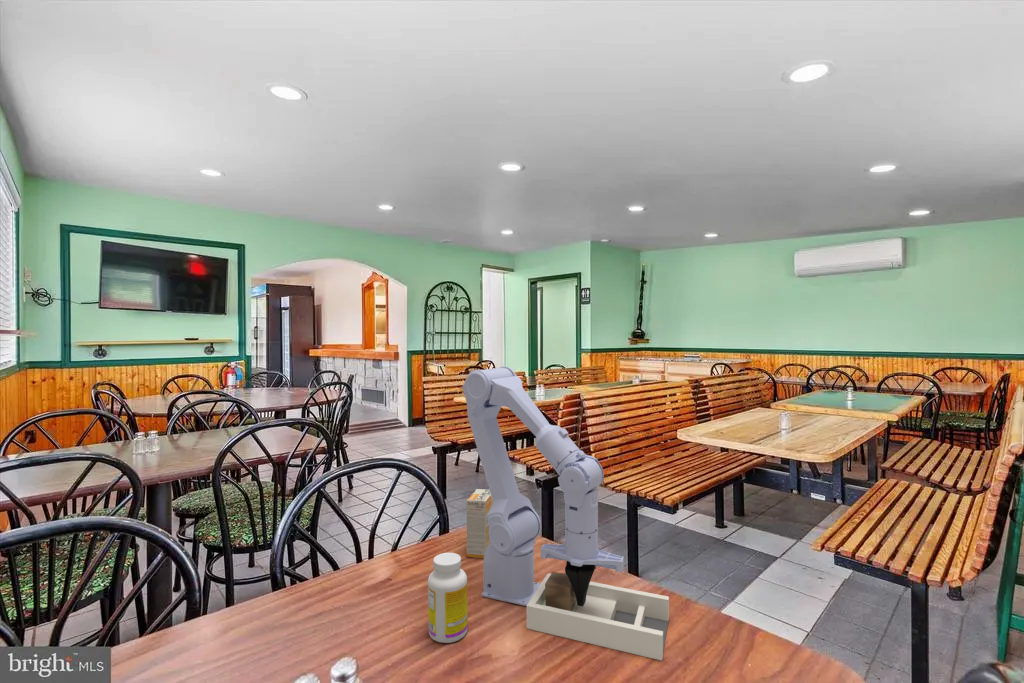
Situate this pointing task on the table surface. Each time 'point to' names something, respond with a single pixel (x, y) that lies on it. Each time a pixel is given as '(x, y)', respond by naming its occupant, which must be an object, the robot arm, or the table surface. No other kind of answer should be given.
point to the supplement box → (478, 522)
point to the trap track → (607, 619)
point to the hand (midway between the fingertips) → (581, 603)
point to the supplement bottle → (447, 599)
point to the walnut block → (559, 592)
